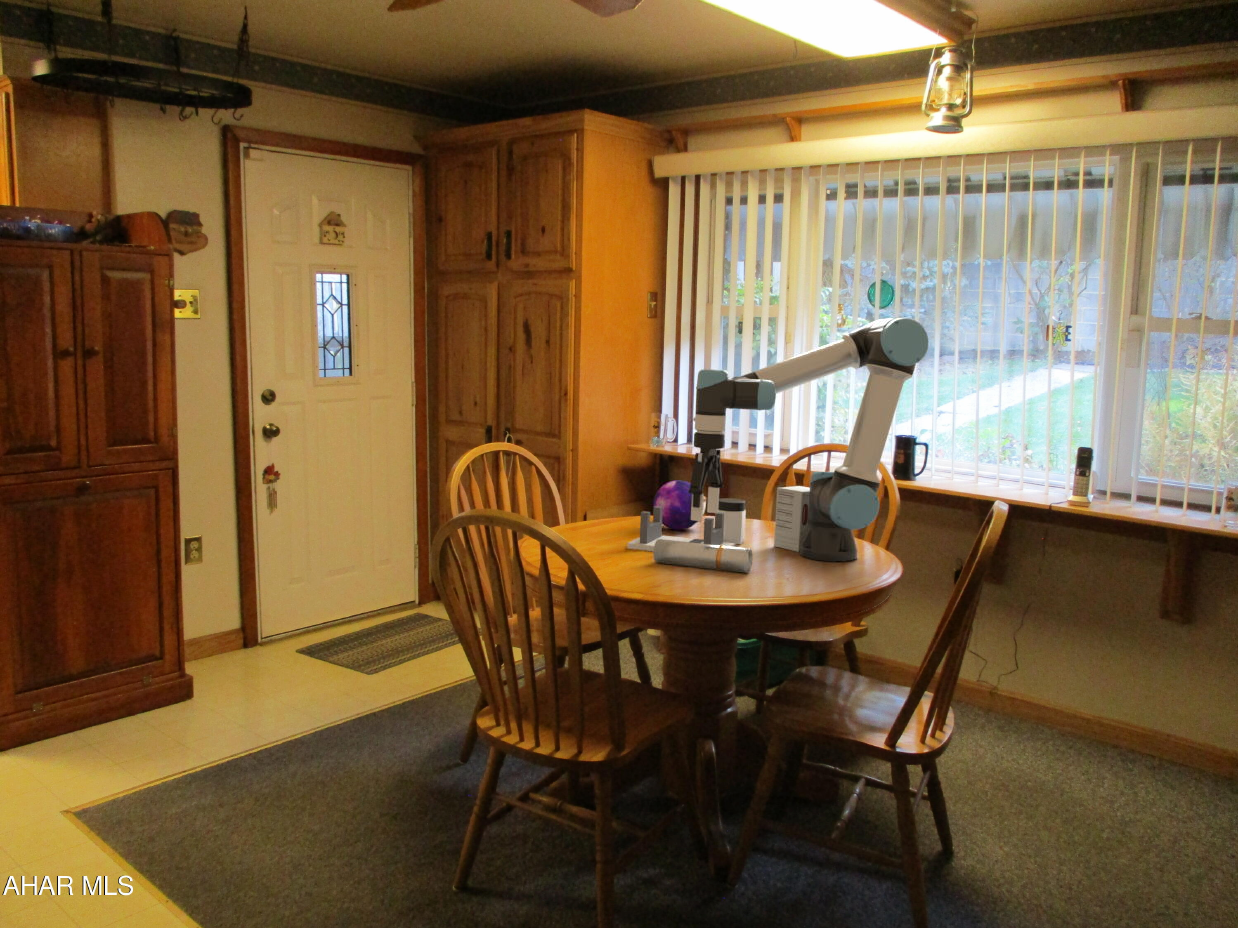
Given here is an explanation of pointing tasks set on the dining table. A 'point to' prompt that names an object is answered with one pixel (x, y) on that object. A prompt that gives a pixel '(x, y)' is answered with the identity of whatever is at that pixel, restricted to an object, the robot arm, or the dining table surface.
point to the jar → (733, 519)
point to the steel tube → (703, 555)
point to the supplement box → (791, 517)
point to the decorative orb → (675, 505)
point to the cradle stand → (654, 532)
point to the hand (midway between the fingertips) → (704, 516)
